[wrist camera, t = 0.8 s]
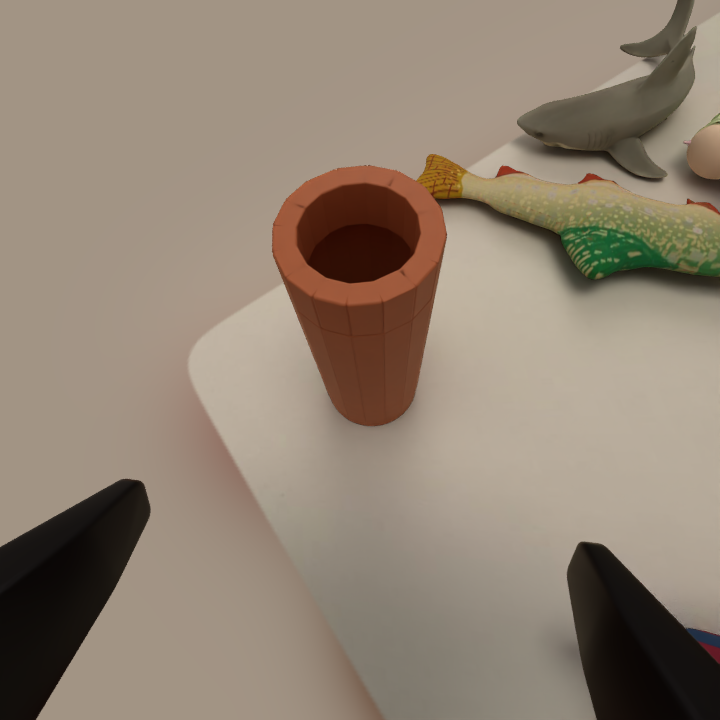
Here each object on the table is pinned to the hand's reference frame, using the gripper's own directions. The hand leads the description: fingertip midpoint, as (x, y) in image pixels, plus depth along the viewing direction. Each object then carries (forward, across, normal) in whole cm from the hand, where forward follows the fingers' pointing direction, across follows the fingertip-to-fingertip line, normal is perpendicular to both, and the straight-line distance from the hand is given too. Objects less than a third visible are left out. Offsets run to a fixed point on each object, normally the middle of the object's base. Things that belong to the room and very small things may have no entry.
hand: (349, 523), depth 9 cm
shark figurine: (+35, -15, -9) cm, 40 cm away
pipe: (+16, +1, +6) cm, 17 cm away
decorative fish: (+29, -14, -5) cm, 33 cm away
